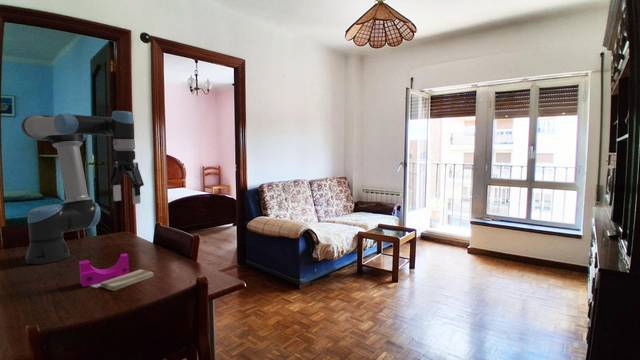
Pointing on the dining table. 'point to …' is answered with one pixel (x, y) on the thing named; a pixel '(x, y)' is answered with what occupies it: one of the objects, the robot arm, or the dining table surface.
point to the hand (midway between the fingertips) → (126, 202)
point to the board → (126, 279)
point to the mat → (95, 285)
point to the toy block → (102, 271)
